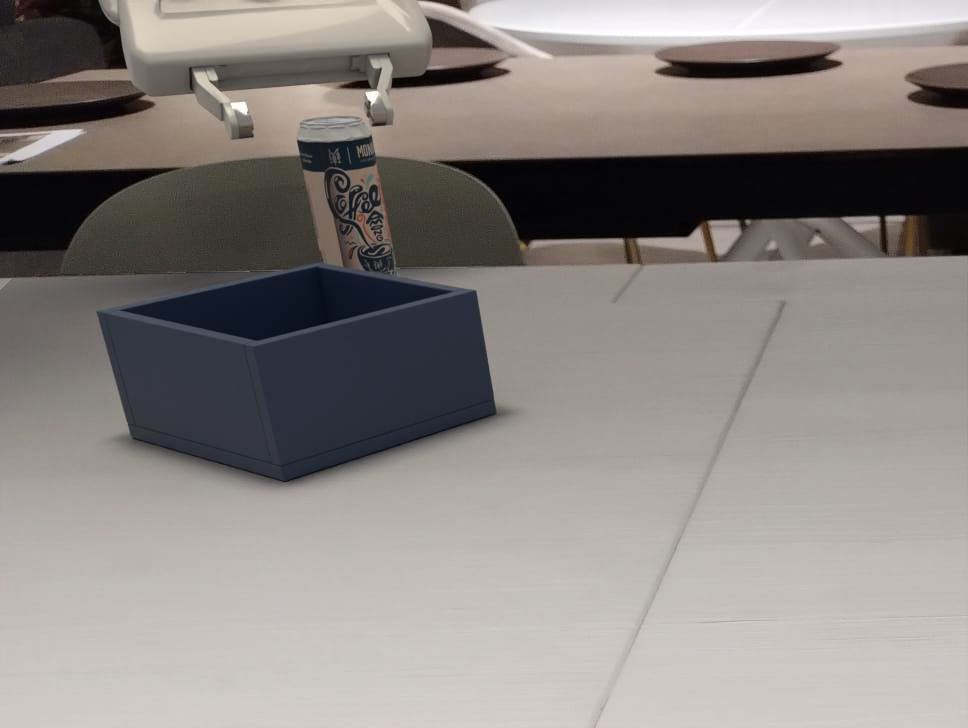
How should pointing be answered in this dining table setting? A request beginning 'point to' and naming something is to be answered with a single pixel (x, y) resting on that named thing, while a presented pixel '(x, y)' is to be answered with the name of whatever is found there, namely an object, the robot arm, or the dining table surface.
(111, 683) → the dining table surface
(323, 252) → the coffee can
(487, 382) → the bin
